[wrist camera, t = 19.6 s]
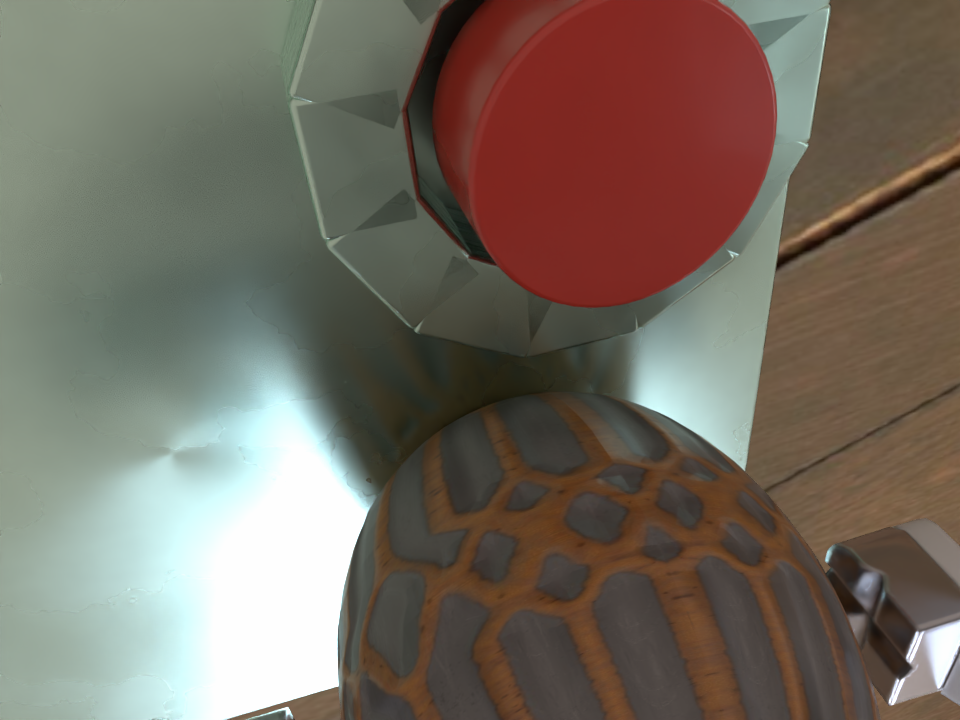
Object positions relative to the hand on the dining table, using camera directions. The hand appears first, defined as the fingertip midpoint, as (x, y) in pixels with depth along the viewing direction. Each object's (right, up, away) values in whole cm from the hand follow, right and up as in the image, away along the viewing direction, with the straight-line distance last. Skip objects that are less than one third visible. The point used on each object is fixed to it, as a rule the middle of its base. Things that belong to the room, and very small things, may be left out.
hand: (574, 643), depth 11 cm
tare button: (0, +7, -2) cm, 7 cm away
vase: (-1, +2, +3) cm, 4 cm away
